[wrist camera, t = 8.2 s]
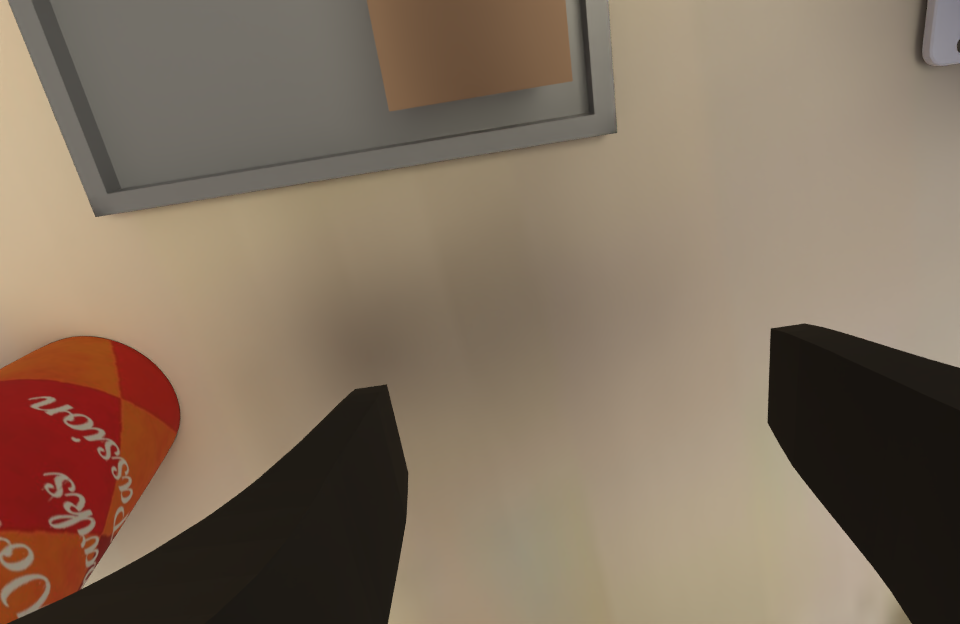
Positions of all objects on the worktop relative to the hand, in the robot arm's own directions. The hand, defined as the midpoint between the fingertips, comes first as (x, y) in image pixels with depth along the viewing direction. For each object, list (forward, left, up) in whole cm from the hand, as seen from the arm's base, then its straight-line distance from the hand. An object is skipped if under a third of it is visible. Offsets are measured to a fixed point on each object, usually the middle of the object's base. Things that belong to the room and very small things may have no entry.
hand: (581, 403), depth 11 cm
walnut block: (+1, -8, -9) cm, 12 cm away
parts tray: (+5, -8, -9) cm, 13 cm away
